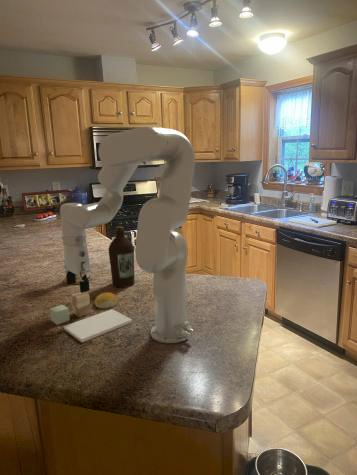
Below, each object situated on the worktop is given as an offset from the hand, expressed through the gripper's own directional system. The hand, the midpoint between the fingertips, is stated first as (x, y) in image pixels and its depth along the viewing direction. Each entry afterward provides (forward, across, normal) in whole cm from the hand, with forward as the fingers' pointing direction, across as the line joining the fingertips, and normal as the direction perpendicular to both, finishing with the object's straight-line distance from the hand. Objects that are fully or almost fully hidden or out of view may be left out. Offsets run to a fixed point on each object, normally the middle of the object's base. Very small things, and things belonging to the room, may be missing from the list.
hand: (78, 287), depth 122 cm
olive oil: (+10, +13, -27) cm, 32 cm away
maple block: (+9, -1, 0) cm, 9 cm away
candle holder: (+10, +33, -16) cm, 38 cm away
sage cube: (+10, -1, +8) cm, 12 cm away
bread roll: (+10, 0, -11) cm, 15 cm away
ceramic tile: (+9, -14, +1) cm, 17 cm away
